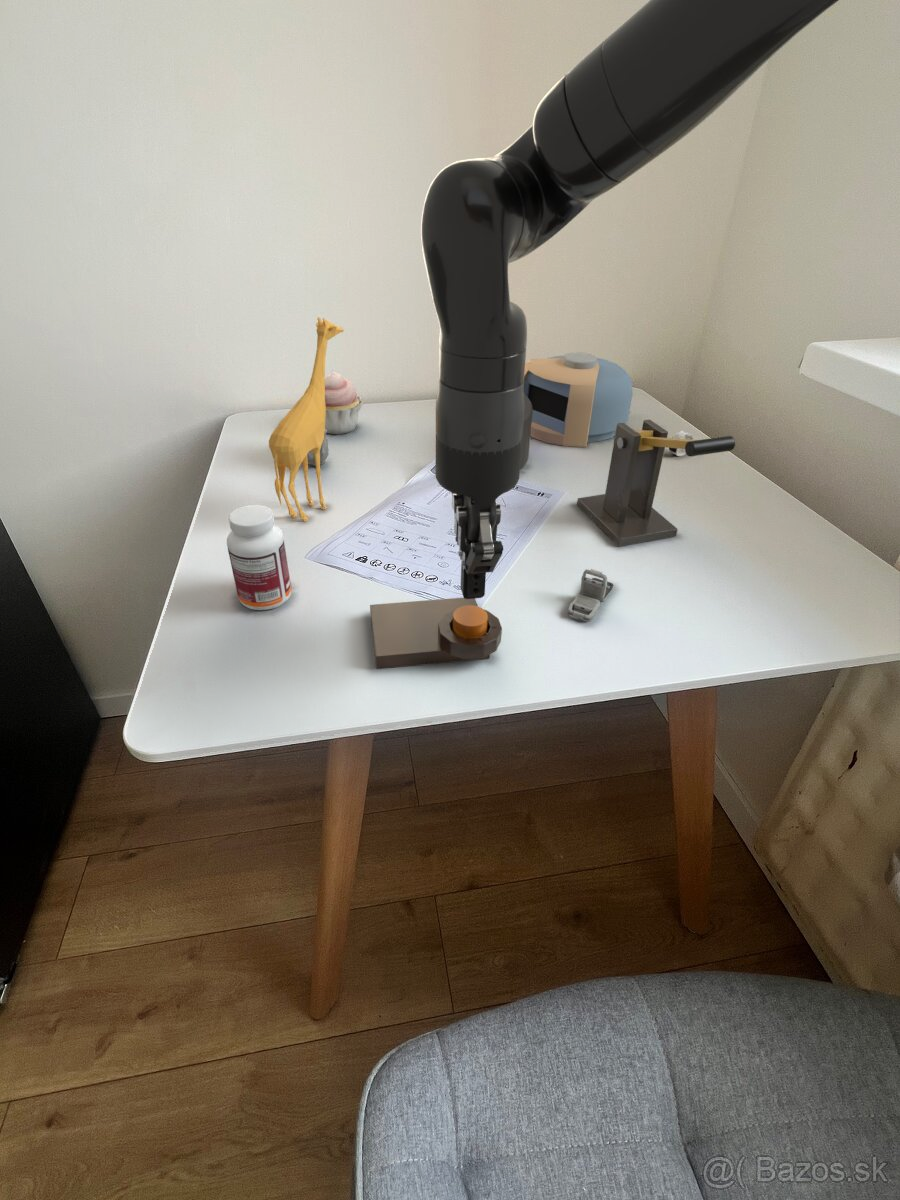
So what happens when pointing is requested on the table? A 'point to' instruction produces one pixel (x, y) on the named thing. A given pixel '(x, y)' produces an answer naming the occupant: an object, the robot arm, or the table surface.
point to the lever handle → (686, 444)
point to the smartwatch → (679, 436)
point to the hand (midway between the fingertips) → (472, 594)
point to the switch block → (427, 634)
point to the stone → (323, 452)
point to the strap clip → (590, 596)
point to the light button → (470, 621)
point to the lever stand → (630, 491)
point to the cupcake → (340, 404)
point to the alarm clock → (576, 398)
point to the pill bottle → (258, 558)
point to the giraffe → (303, 427)
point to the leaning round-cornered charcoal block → (526, 431)
